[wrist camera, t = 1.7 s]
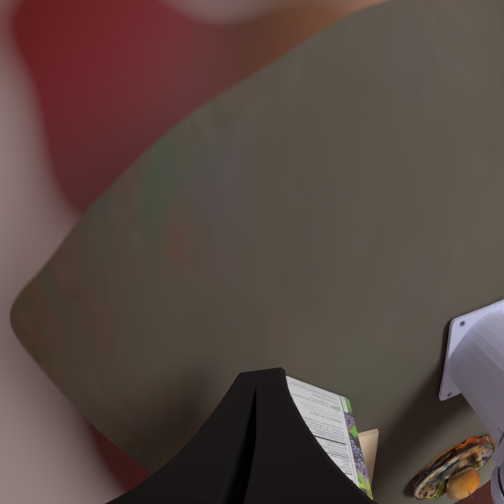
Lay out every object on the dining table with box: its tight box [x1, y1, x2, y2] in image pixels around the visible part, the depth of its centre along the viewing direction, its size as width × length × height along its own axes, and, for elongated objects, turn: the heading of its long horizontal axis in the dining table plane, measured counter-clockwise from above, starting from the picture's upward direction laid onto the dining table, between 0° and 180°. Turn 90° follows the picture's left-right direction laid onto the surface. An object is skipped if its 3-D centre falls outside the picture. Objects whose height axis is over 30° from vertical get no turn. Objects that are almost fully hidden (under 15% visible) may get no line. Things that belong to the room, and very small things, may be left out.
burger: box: [410, 435, 495, 501], centre depth 18 cm, size 12×12×8 cm
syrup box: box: [286, 376, 373, 500], centre depth 12 cm, size 6×6×14 cm
